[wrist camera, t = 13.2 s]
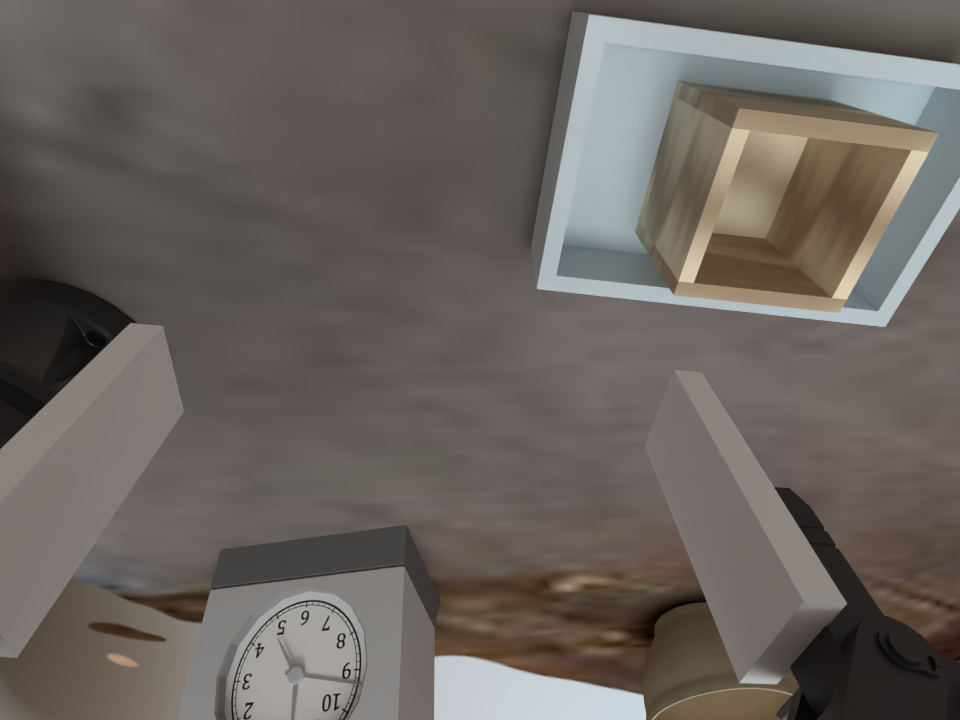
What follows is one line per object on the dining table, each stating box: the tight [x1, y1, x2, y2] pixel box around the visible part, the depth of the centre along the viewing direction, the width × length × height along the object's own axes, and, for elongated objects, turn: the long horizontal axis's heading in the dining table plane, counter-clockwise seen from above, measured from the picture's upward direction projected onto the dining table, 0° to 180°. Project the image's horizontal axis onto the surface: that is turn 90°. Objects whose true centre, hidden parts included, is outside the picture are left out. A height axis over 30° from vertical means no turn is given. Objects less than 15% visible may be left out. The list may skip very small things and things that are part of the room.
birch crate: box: [635, 81, 939, 313], centre depth 29 cm, size 9×9×9 cm
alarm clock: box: [177, 525, 440, 720], centre depth 51 cm, size 20×16×20 cm
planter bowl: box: [643, 602, 799, 720], centre depth 59 cm, size 16×16×11 cm
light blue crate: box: [530, 11, 960, 327], centre depth 31 cm, size 14×22×6 cm, turn 84°
